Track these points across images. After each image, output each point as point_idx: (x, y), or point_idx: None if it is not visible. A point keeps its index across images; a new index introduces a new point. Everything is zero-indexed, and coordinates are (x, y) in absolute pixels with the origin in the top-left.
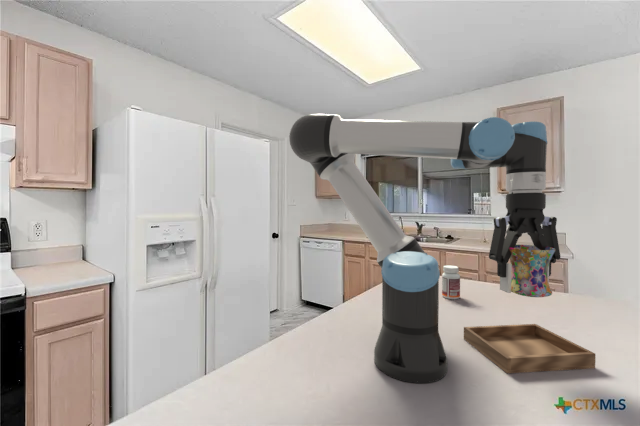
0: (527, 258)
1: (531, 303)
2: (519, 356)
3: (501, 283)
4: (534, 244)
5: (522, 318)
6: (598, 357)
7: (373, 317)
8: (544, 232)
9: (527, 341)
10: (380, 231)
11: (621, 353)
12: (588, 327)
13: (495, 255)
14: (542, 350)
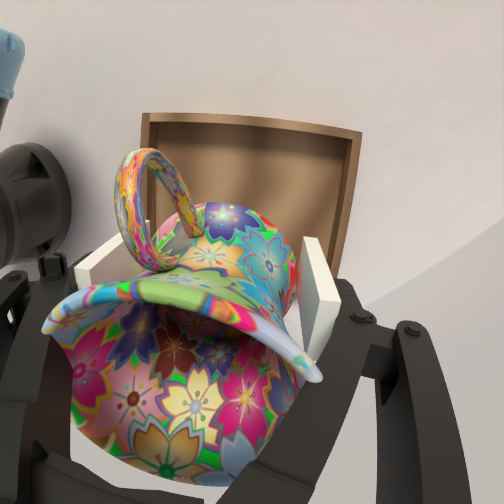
0: (125, 411)
1: (496, 5)
2: None
3: None
4: (298, 396)
5: (412, 44)
6: (380, 249)
7: (41, 9)
8: (409, 494)
9: (293, 164)
10: None
11: (435, 247)
12: (497, 144)
13: (11, 327)
14: (285, 211)
